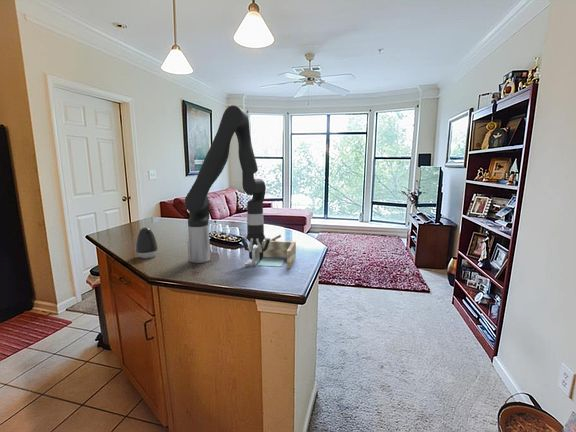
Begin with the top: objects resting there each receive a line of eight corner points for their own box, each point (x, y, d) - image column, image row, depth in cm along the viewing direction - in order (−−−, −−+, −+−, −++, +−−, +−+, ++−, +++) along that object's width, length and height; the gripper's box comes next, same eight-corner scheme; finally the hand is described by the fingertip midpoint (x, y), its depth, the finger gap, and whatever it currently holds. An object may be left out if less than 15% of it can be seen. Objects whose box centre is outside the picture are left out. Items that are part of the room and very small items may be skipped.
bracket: (255, 266, 131) (255, 249, 129) (244, 266, 132) (244, 249, 130) (260, 261, 139) (259, 245, 137) (250, 260, 139) (249, 244, 138)
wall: (263, 262, 149) (285, 243, 148) (252, 249, 149) (273, 230, 148) (267, 258, 165) (287, 240, 164) (257, 246, 166) (277, 229, 165)
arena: (246, 266, 131) (246, 249, 130) (256, 255, 148) (256, 240, 146) (290, 268, 128) (290, 251, 127) (295, 257, 144) (295, 241, 143)
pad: (257, 265, 132) (257, 265, 132) (262, 259, 141) (262, 259, 141) (281, 266, 130) (281, 266, 130) (284, 260, 139) (284, 260, 139)
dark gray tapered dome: (141, 261, 139) (138, 230, 137) (133, 257, 146) (130, 227, 144) (162, 256, 146) (159, 227, 144) (153, 252, 153) (151, 224, 151)
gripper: (272, 221, 134) (272, 257, 137) (243, 221, 136) (244, 256, 139) (268, 225, 127) (269, 262, 130) (237, 224, 129) (239, 261, 132)
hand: (256, 259), depth 134 cm, fingers open, 3 cm apart
